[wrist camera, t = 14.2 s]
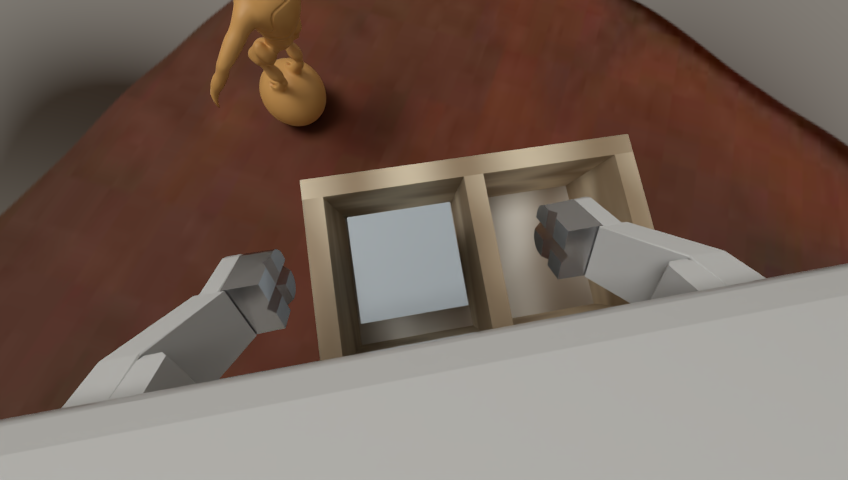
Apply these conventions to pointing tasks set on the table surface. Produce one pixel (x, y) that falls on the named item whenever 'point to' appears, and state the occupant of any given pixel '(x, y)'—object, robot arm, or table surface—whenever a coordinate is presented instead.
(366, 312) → the grey peg
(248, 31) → the figurine
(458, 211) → the wooden divided tray
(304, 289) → the table surface
